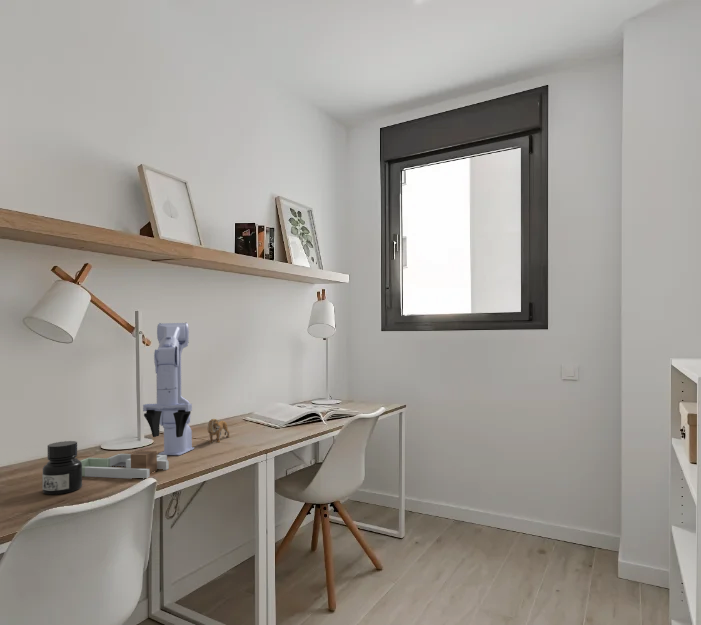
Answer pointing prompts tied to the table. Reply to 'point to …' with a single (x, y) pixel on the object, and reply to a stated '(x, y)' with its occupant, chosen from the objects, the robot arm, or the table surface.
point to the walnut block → (144, 460)
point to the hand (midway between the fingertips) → (167, 436)
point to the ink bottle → (62, 469)
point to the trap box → (103, 469)
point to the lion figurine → (217, 429)
